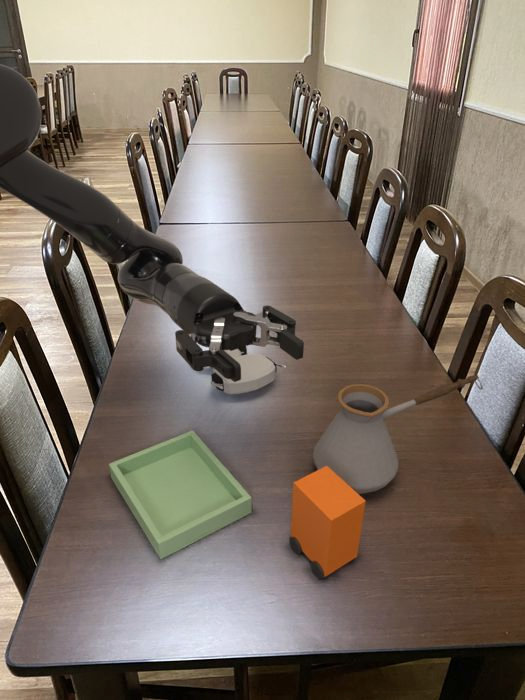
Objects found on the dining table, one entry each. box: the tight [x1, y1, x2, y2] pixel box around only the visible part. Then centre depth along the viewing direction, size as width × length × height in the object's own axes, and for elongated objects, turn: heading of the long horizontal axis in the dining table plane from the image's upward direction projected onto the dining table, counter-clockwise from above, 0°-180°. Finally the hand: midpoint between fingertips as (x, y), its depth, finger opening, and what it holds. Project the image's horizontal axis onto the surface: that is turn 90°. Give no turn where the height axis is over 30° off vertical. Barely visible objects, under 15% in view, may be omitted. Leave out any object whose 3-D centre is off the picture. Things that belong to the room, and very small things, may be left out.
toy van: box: [289, 466, 366, 580], centre depth 61 cm, size 7×5×10 cm
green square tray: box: [108, 430, 253, 560], centre depth 70 cm, size 16×13×3 cm
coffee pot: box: [312, 374, 484, 495], centre depth 71 cm, size 21×12×15 cm, turn 98°
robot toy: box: [210, 346, 287, 395], centre depth 93 cm, size 12×4×15 cm
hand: (270, 362), depth 60 cm, fingers open, 8 cm apart
